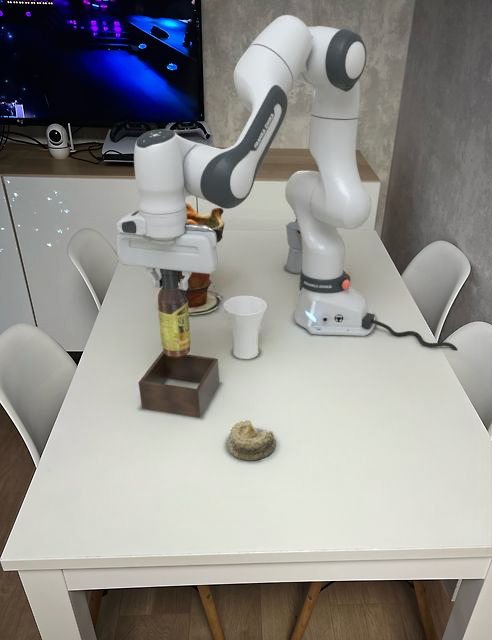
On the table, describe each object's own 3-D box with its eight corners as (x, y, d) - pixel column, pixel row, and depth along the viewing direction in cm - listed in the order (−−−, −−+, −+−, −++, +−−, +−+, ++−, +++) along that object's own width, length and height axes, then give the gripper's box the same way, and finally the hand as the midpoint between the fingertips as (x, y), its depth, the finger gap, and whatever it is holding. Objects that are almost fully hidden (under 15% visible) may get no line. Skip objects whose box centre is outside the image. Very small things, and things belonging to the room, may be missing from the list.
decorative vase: (235, 288, 187) (233, 196, 171) (217, 323, 168) (212, 224, 152) (170, 282, 190) (162, 192, 174) (144, 316, 171) (133, 218, 155)
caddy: (219, 384, 143) (218, 358, 139) (200, 417, 132) (198, 391, 128) (165, 376, 146) (162, 350, 142) (141, 408, 135) (138, 382, 131)
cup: (273, 347, 157) (273, 300, 150) (255, 367, 149) (254, 318, 142) (237, 339, 161) (235, 292, 153) (217, 357, 153) (215, 309, 146)
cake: (259, 469, 119) (257, 449, 116) (217, 452, 124) (214, 432, 121) (285, 439, 126) (284, 419, 123) (245, 424, 130) (243, 404, 127)
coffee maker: (312, 276, 195) (315, 221, 185) (285, 276, 195) (286, 221, 185) (310, 258, 207) (313, 205, 197) (284, 258, 207) (286, 205, 197)
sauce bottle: (186, 360, 130) (178, 274, 119) (158, 357, 131) (148, 271, 120) (195, 345, 136) (189, 261, 124) (168, 342, 137) (159, 258, 125)
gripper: (220, 220, 118) (224, 286, 126) (122, 212, 122) (131, 276, 129) (210, 232, 113) (214, 299, 120) (108, 223, 117) (118, 289, 124)
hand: (170, 287), depth 125 cm, fingers closed on sauce bottle, 4 cm apart
